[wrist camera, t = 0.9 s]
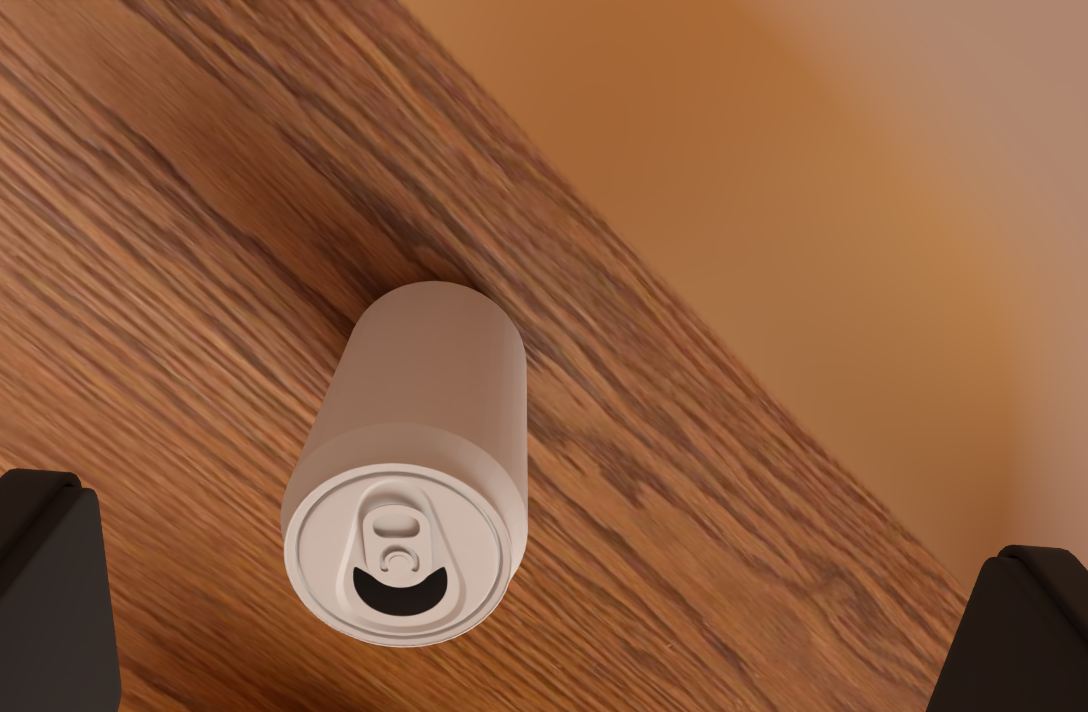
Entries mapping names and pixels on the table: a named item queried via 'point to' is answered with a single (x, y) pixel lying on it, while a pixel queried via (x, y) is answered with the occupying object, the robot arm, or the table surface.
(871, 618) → the table surface
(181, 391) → the table surface
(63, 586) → the robot arm
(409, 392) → the beverage can
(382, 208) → the table surface
